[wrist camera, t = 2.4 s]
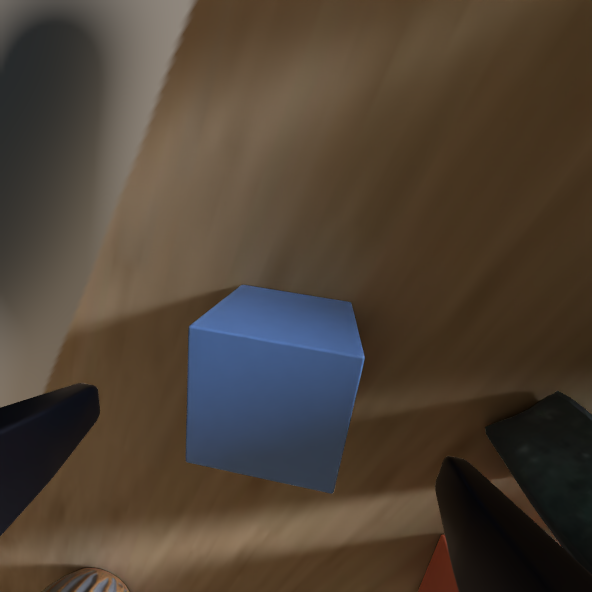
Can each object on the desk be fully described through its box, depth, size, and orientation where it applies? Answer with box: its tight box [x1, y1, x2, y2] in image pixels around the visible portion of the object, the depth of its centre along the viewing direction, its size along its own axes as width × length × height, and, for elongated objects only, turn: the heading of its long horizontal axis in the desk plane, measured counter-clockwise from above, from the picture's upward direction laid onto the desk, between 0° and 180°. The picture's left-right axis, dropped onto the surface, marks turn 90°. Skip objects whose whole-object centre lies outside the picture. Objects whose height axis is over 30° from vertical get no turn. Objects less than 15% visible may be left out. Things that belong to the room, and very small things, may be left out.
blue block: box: [186, 285, 365, 493], centre depth 10 cm, size 4×4×4 cm
